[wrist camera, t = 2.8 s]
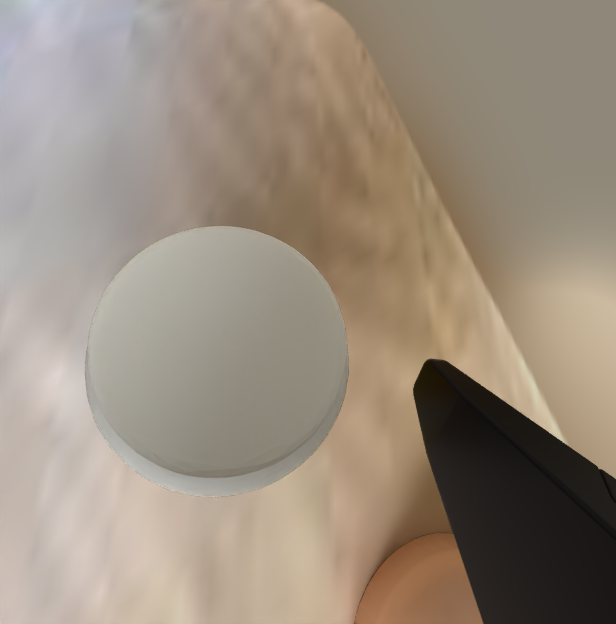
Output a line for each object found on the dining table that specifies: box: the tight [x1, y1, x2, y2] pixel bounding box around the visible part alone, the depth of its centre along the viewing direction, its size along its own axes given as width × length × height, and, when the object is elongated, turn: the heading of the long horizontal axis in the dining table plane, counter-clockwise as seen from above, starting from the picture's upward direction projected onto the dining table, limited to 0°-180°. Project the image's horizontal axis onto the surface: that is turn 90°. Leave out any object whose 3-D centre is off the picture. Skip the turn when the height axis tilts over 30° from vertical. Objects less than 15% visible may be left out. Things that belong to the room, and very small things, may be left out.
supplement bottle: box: [85, 226, 349, 497], centre depth 11 cm, size 6×6×10 cm
